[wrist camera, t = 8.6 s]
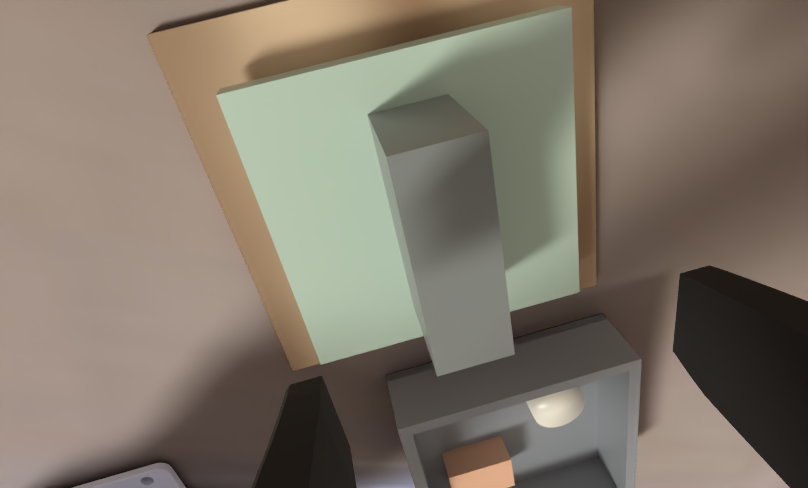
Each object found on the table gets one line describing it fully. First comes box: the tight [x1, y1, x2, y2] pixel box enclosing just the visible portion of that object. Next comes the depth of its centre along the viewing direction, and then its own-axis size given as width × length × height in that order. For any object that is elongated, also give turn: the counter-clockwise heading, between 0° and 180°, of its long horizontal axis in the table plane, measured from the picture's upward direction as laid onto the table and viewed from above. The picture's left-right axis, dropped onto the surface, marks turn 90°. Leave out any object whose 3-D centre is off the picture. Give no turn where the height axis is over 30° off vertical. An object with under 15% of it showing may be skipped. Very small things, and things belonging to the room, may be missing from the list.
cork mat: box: [146, 0, 596, 371], centre depth 18 cm, size 13×13×1 cm
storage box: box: [386, 314, 642, 488], centre depth 24 cm, size 10×10×3 cm
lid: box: [216, 5, 580, 377], centre depth 16 cm, size 10×10×5 cm
